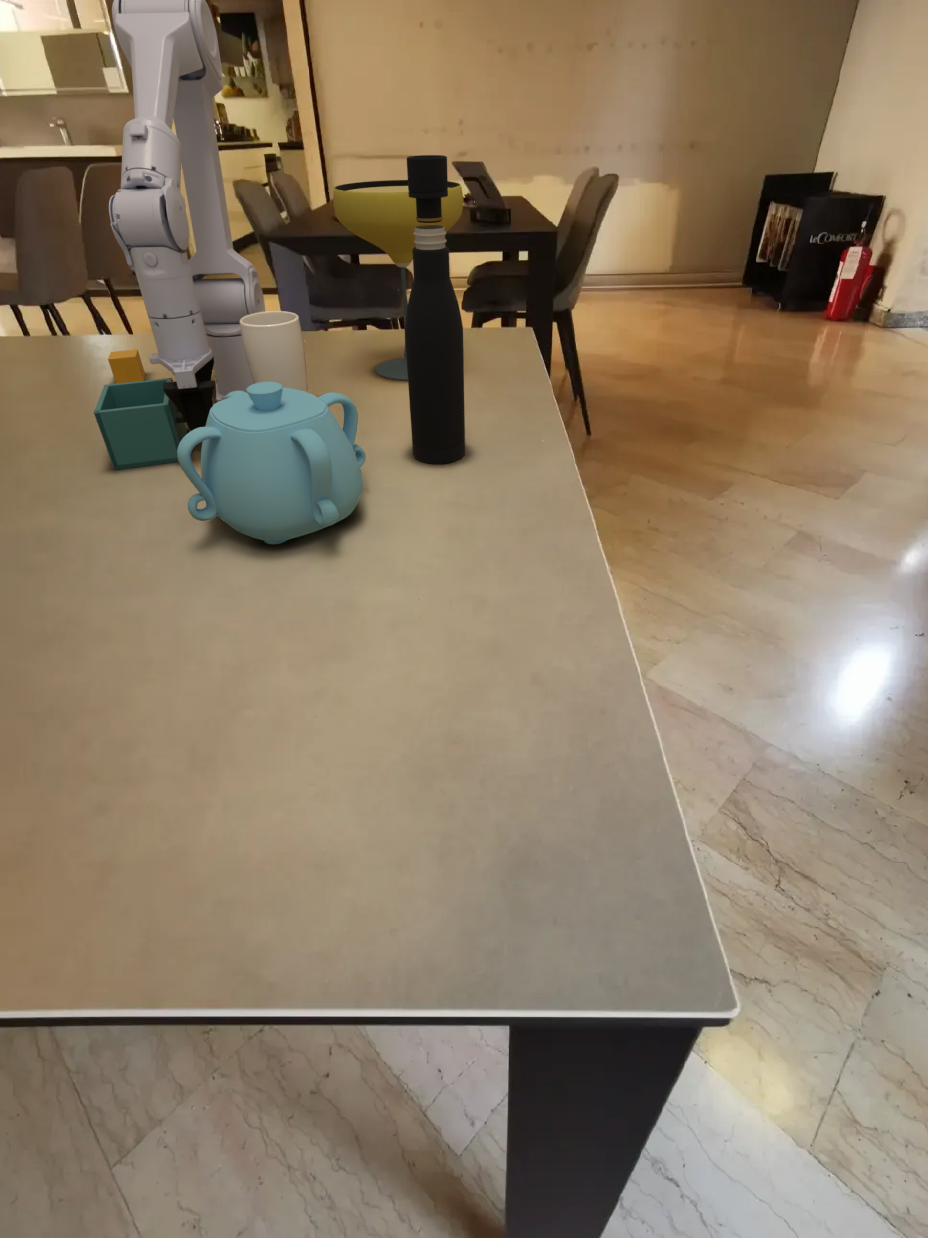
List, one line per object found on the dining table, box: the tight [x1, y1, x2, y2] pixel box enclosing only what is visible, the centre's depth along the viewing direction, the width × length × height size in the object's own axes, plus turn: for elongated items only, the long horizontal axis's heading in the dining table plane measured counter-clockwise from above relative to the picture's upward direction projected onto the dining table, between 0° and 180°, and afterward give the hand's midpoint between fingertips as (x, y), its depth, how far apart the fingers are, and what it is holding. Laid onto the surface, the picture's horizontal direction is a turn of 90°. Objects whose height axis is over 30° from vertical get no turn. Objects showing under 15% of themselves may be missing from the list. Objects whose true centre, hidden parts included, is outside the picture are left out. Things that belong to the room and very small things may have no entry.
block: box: [107, 348, 146, 384], centre depth 105 cm, size 4×4×4 cm
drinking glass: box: [240, 310, 309, 393], centre depth 80 cm, size 7×7×15 cm
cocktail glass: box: [332, 179, 464, 381], centre depth 100 cm, size 18×18×25 cm
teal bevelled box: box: [93, 377, 188, 471], centre depth 82 cm, size 12×10×7 cm
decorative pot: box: [177, 382, 366, 545], centre depth 66 cm, size 16×16×14 cm
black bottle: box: [404, 154, 466, 465], centre depth 73 cm, size 6×6×30 cm
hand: (204, 427), depth 85 cm, fingers open, 7 cm apart
